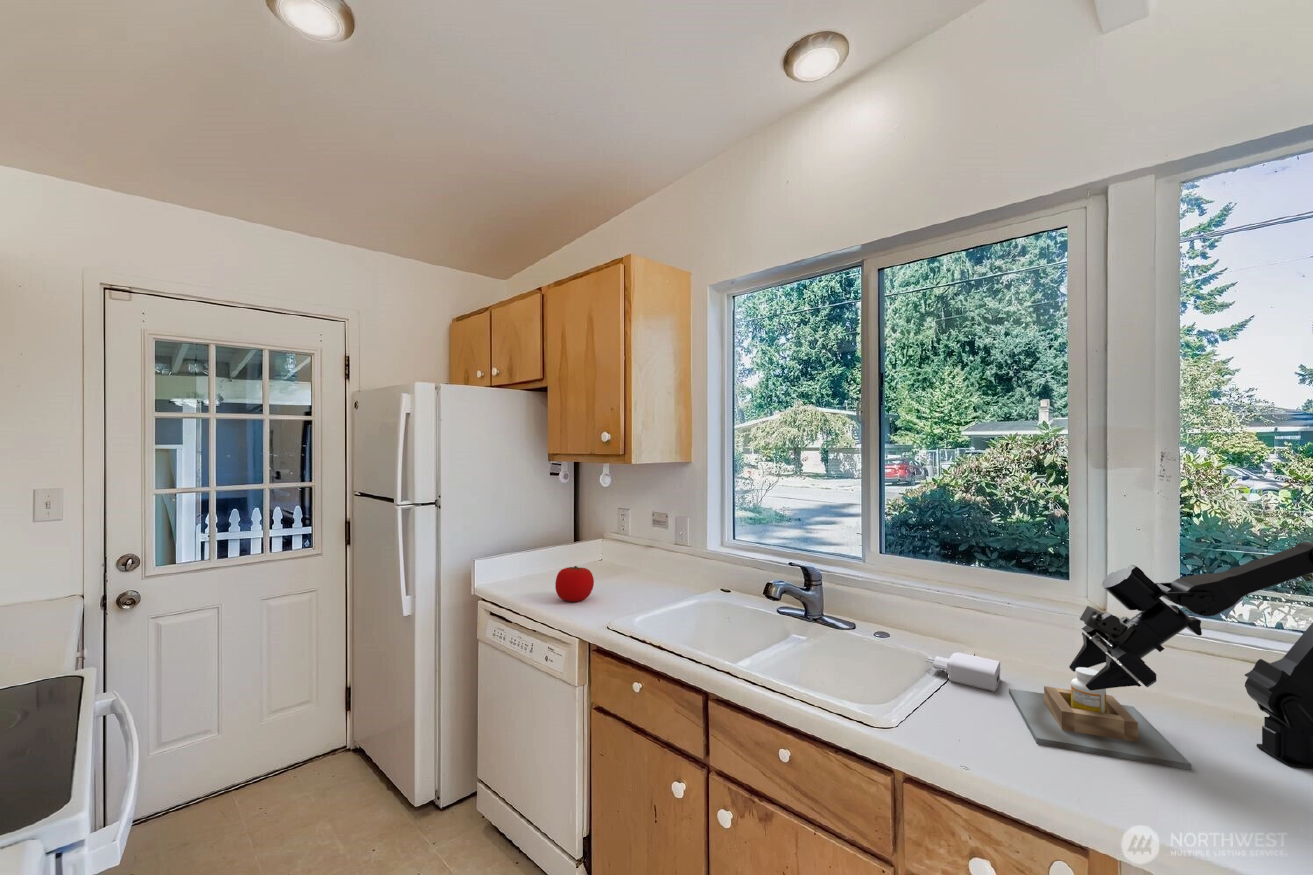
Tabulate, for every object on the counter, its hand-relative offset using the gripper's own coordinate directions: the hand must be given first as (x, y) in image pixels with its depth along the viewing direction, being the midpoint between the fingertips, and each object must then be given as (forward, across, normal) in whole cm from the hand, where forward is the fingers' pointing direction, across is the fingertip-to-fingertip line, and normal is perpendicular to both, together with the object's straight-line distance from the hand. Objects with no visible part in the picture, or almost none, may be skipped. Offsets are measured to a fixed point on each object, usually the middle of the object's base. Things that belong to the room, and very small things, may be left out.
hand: (1079, 678), depth 108 cm
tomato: (+102, -38, -89) cm, 140 cm away
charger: (+20, -16, -6) cm, 26 cm away
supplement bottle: (+5, 0, +7) cm, 8 cm away
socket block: (+5, 0, +7) cm, 9 cm away
